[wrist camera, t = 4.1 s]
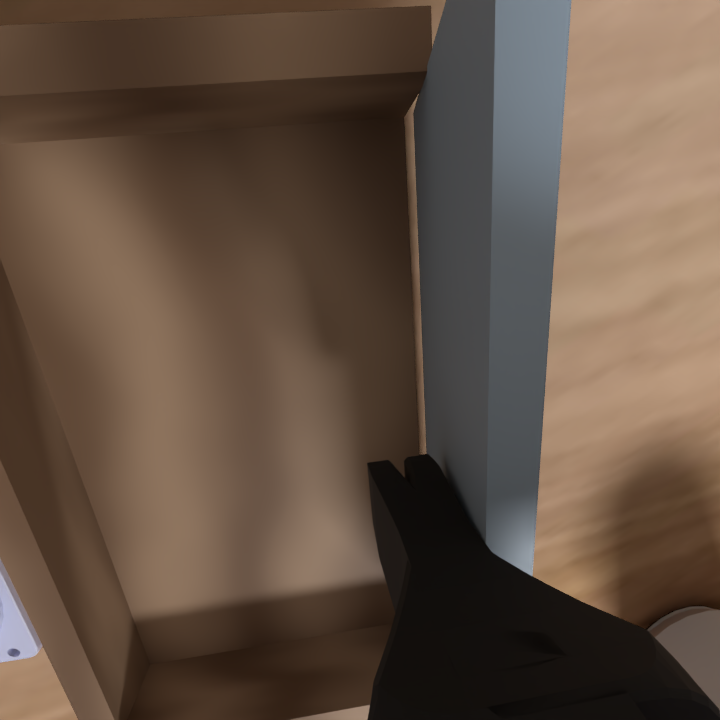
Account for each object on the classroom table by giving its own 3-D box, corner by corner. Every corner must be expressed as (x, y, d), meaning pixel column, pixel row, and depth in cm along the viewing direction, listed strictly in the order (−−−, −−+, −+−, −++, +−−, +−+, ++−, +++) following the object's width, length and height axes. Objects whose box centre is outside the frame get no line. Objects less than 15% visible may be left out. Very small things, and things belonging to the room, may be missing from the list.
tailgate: (433, 618, 17) (479, 910, 10) (413, 113, 11) (499, -180, 3) (449, 617, 17) (509, 911, 10) (439, 109, 11) (584, -193, 3)
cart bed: (145, 652, 18) (90, 777, 14) (-52, 119, 11) (-284, 38, 7) (419, 607, 19) (448, 710, 15) (392, 91, 12) (430, 6, 8)
